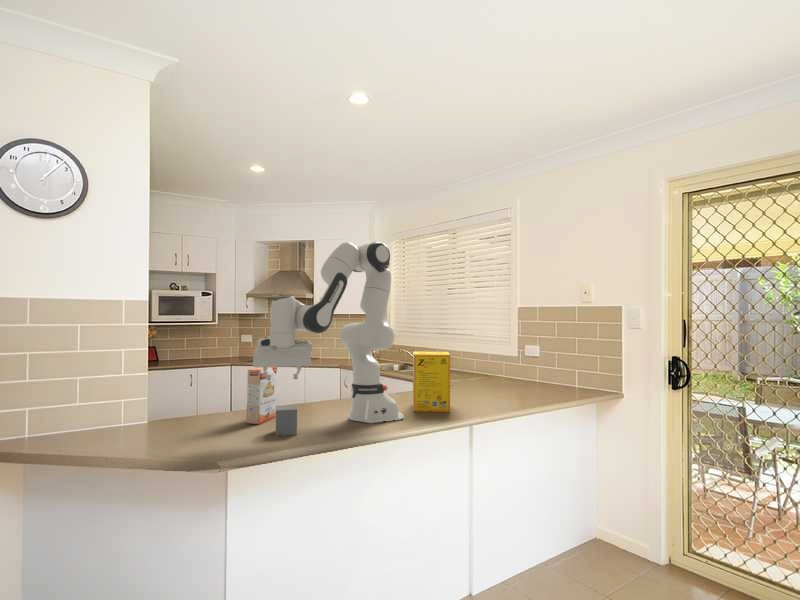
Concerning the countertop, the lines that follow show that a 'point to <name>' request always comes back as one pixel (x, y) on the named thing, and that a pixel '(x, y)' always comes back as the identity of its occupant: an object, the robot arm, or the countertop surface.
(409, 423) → the countertop surface
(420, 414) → the countertop surface
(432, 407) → the packaging box
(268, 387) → the cracker box
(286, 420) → the gray faceted wedge
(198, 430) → the countertop surface
